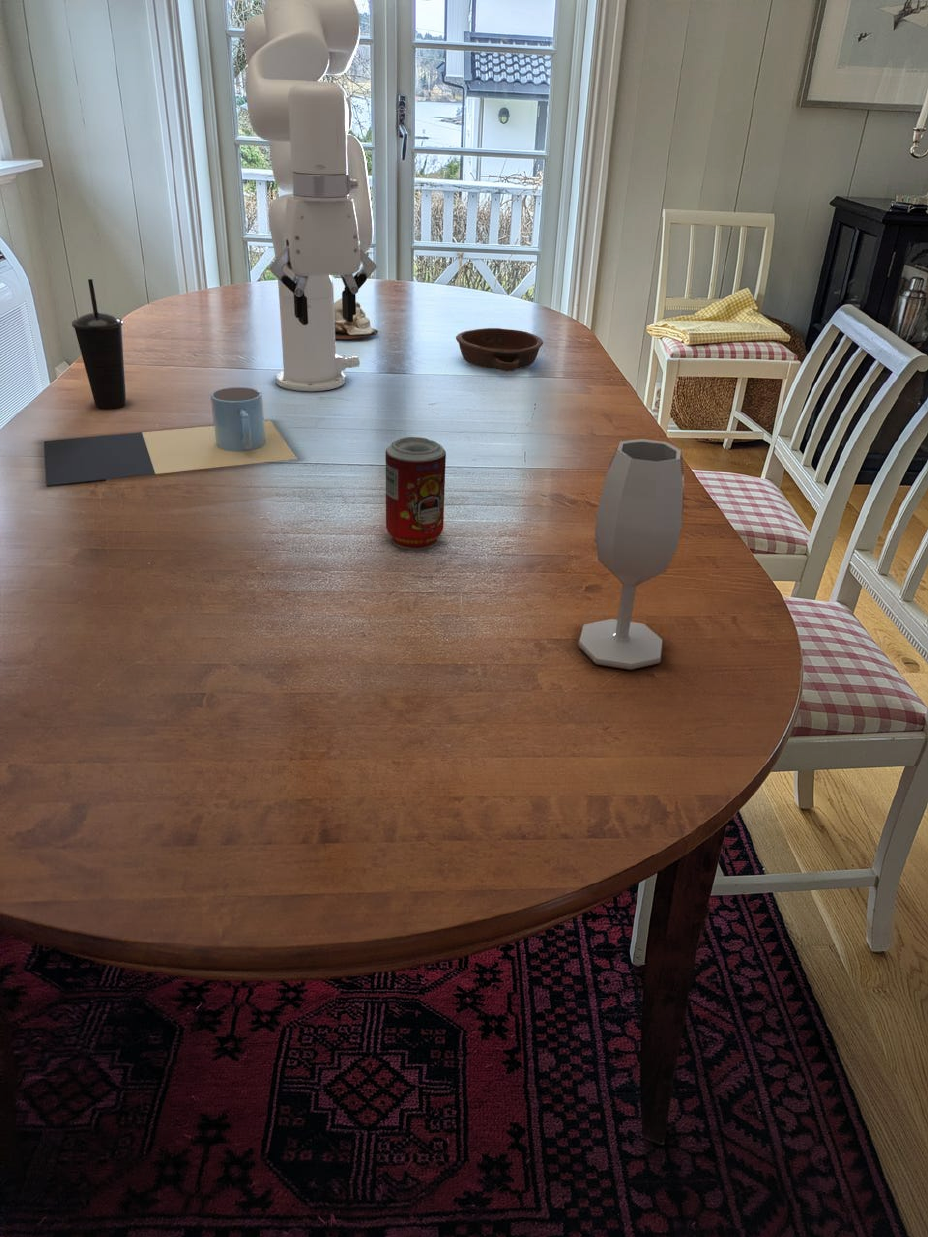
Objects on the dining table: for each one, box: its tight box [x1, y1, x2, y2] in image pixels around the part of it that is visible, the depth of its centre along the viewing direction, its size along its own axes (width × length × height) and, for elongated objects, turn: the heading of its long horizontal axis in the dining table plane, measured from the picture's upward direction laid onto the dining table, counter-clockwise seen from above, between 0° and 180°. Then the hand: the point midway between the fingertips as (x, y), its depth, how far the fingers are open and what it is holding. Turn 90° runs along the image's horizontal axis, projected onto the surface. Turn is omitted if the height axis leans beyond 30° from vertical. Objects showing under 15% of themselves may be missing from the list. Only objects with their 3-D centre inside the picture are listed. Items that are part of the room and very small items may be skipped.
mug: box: [210, 386, 266, 451], centre depth 135 cm, size 10×7×8 cm
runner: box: [43, 420, 298, 488], centre depth 134 cm, size 34×18×1 cm, turn 113°
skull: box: [334, 297, 379, 340], centre depth 197 cm, size 12×10×10 cm
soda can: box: [384, 436, 447, 551], centre depth 108 cm, size 7×7×12 cm
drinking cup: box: [71, 278, 127, 411], centre depth 146 cm, size 8×8×20 cm
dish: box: [455, 327, 544, 372], centre depth 182 cm, size 18×22×5 cm
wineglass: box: [577, 438, 685, 671], centre depth 86 cm, size 9×9×21 cm
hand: (325, 320), depth 134 cm, fingers open, 6 cm apart
